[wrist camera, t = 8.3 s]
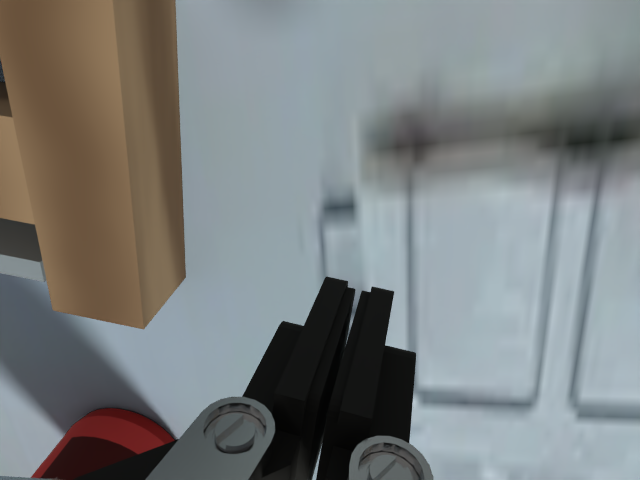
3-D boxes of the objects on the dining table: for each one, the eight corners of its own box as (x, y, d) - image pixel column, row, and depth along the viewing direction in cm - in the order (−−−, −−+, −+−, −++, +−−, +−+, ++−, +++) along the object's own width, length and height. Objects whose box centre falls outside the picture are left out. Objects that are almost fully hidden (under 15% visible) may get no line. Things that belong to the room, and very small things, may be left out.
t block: (175, -4, 17) (112, -3, 13) (185, 277, 22) (143, 329, 19) (-98, -39, 18) (-223, -47, 14) (-22, 237, 24) (-98, 279, 20)
